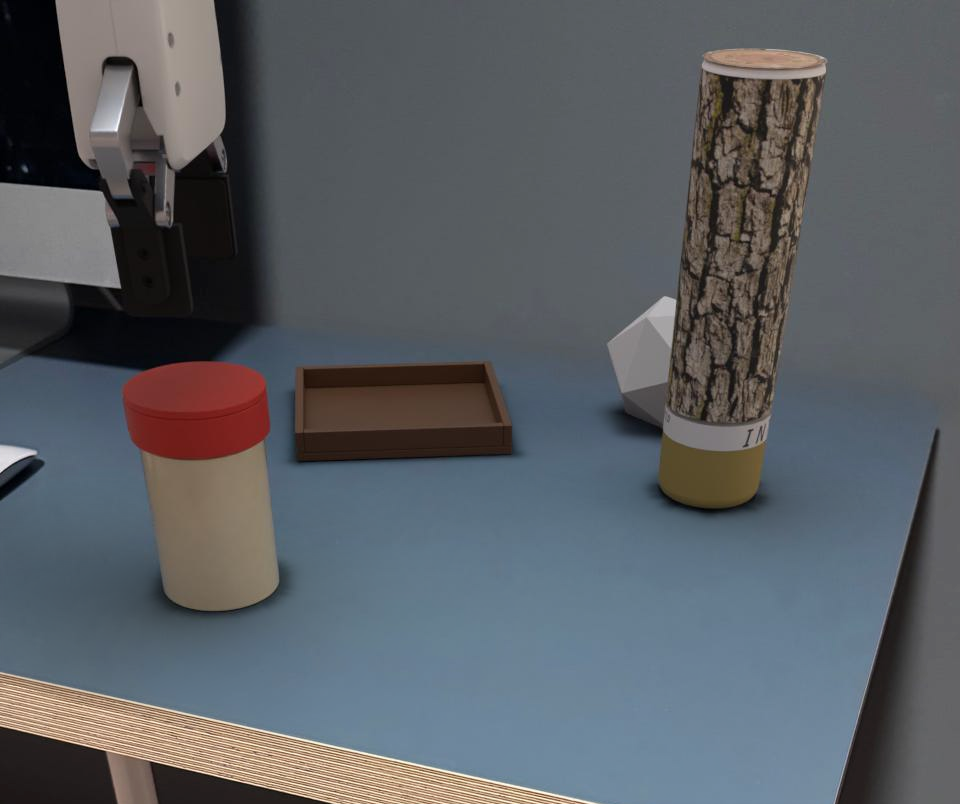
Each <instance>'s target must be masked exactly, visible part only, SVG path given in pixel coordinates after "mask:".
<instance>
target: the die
mask: <svg viewBox="0 0 960 804" xmlns="http://www.w3.org/2000/svg"><path fill="white" fill-rule="evenodd" d="M676 300H677V298H676V299H675V298H672V297H669V296H667V295H664V296H663V297H661V298H660V299H659V300H658V301H657V302H655V303H654V304H653V305H651V306H650V308H647V310H646V311H644V312H643V313H641V314H640V315H639V316H638V317H637V318H636V319H635V320H634V321H632V322H631V323H630V324H629V325H627V326H626V327H625V328H624V329H622V331H620V332H619V333H618V334H617V335H615V336H614V337H613V338H612V339H611V340H609V341H608V342H607V343H606V345H607V350H608V353H609V356H610V361H611V364H612V367H613V372H614V375H615V378H616V382H617V385H618V389H619V393H620V398H621V401H622V404H623V408H624V411H625V414H626V415H627V414H628V415H630V416H632V417H635V418H636V419H639V420H642V421H644V422H646V423H648V424H651V425H653V426H656V427H658V428H660V429H663V423H664V413H665V404H666V395H667V385H668V376H669V366H670V357H671V347H672V338H673V329H674V319H675V310H676Z"/></svg>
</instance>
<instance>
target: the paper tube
mask: <svg viewBox="0 0 960 804" xmlns="http://www.w3.org/2000/svg"><path fill="white" fill-rule="evenodd" d="M702 57H703V61H702V63H701V66H700V73H699V74H700V75H699V84H698V94H697V104H696V112H695V113H696V114H695V123H694V132H693V141H692V151H691V160H690V169H689V177H688V178H689V179H688V188H687V197H686V206H685V217H684V226H683V236H682V245H681V255H680V264H679V273H678V281H677V290H676V291H677V292H676V310H675V319H674V329H673V338H672V347H671V357H670V366H669V376H668V385H667V395H666V404H665V413H664V423H663V428H662V436H661V446H660V447H661V448H660V455H659V464H658V475H657V481H658V486H659V487H660V488H661V490H662V492H663V493H664V494H665V495H666V496H667V497H669V498H670V499H672V500H674V501H675V502H677V503H680V504H683V505H686V506H689V507H694V508H699V509H712V510H713V509H714V510H715V509H728V508H733V507H737V506H740V505H742V504H744V503H746V502H748V501H750V500H751V499H752V498H753V497H754V496H755V495H756V494H757V492H758V490H759V487H760V481H761V475H762V470H763V464H764V456H765V450H766V445H767V439H768V435H769V428H770V423H771V422H770V421H771V417H772V408H773V405H774V398H775V392H776V385H777V381H778V380H777V379H778V374H779V373H778V372H779V367H780V360H781V355H782V348H783V342H784V341H783V340H784V335H785V329H786V323H787V317H788V310H789V305H790V299H791V293H792V287H793V280H794V274H795V267H796V261H797V255H798V249H799V242H800V238H801V237H800V236H801V231H802V224H803V217H804V212H805V205H806V199H807V192H808V187H809V181H810V175H811V170H812V169H811V168H812V162H813V157H814V149H815V144H816V139H817V132H818V126H819V125H818V124H819V119H820V113H821V107H822V101H823V94H824V87H825V83H826V82H825V81H826V76H827V67H826V64H827V63H828V59H827V58H826V57H823V56H821V55H819V54H813V53H808V52H803V51H795V50H788V49H787V50H786V49H774V48H773V49H771V48H729V49H718V50H712V51H708V52H706V53H704V54H703V55H702Z"/></svg>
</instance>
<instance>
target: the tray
mask: <svg viewBox="0 0 960 804" xmlns="http://www.w3.org/2000/svg"><path fill="white" fill-rule="evenodd" d="M294 380H295V381H294V383H295V385H294V386H295V387H294V388H295V389H294V400H295V401H294V438H295V439H294V440H295V451H296V461H297V462H313V461H314V462H315V461H316V462H319V461H321V462H322V461H344V460H345V461H348V460H373V459H374V460H375V459H377V460H378V459H402V458H403V459H404V458H429V457H432V458H433V457H458V456H459V457H460V456H461V457H462V456H487V455H511V454H513V453H512V449H513V447H512V445H513V424H512V421H511V418H510V415H509V412H508V408H507V405H506V402H505V399H504V396H503V393H502V390H501V388H500V385H499V382H498V379H497V376H496V372H495V370H494V366H493V363H492V361H491V360H478V361H477V360H475V361H474V360H473V361H472V360H471V361H447V362H446V361H444V362H443V361H442V362H441V361H440V362H411V363H410V362H407V363H405V362H403V363H375V364H374V363H372V364H367V363H366V364H340V365H339V364H337V365H336V364H335V365H304V366H303V365H302V366H301V365H300V366H295V379H294Z"/></svg>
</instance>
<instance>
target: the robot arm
mask: <svg viewBox="0 0 960 804" xmlns="http://www.w3.org/2000/svg"><path fill="white" fill-rule="evenodd" d="M55 8H56V15H57V23H58V24H57V25H58V30H59V38H60V44H61V45H60V46H61V53H62V59H63V65H64V72H65V79H66V87H67V93H68V101H69V106H70V107H69V108H70V112H71V114H70V115H71V119H72V126H73V132H74V138H75V143H76V144H75V145H76V149H77V153H78V156H79V158H80V159H81V161H82V162H83V163H84V164H85V165H86V166H87V167H88V168H90V169H91V170H99V173H100V175H99V177H98V179H99V181H98V189H99V191H100V192H101V193H102V194H103V197H104V199H105V203H104V204H105V206H104V209H105V217H106V222H107V225H108V227H109V229H110V234H111V235H110V236H111V240H112V245H113V252H114V257H115V262H116V263H115V264H116V268H117V274H118V279H119V285H120V292H121V296H122V297H121V298H122V302H123V307H124V311H125V313H126V314H127V315H128V316H130V317H134V318H136V317H137V318H176V319H177V318H181V319H184V318H188V317H189V316H190V315H191V314H192V313H193V311H194V300H193V294H192V292H193V291H192V286H191V278H190V272H189V265H188V260H211V261H212V260H214V261H217V260H218V261H230V260H233V259H234V258H235V257H236V256H237V255H238V252H239V250H238V242H237V234H236V233H237V231H236V224H235V223H236V222H235V217H234V207H233V199H232V191H231V183H230V182H231V181H230V174H226V173H227V171H228V157H227V152H226V149H225V145H224V142H223V139H222V136H221V134H222V132H223V130H224V128H225V124H226V116H227V115H226V94H225V83H224V81H225V80H224V72H223V71H224V70H223V62H222V52H221V46H220V37H219V31H218V30H219V29H218V21H217V14H216V8H215V0H55ZM147 176H150V177H151V176H152V177H153V176H154V190H153V189H152V186H151V185H150V182H149V180H148V179H149V178H148V177H147Z"/></svg>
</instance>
